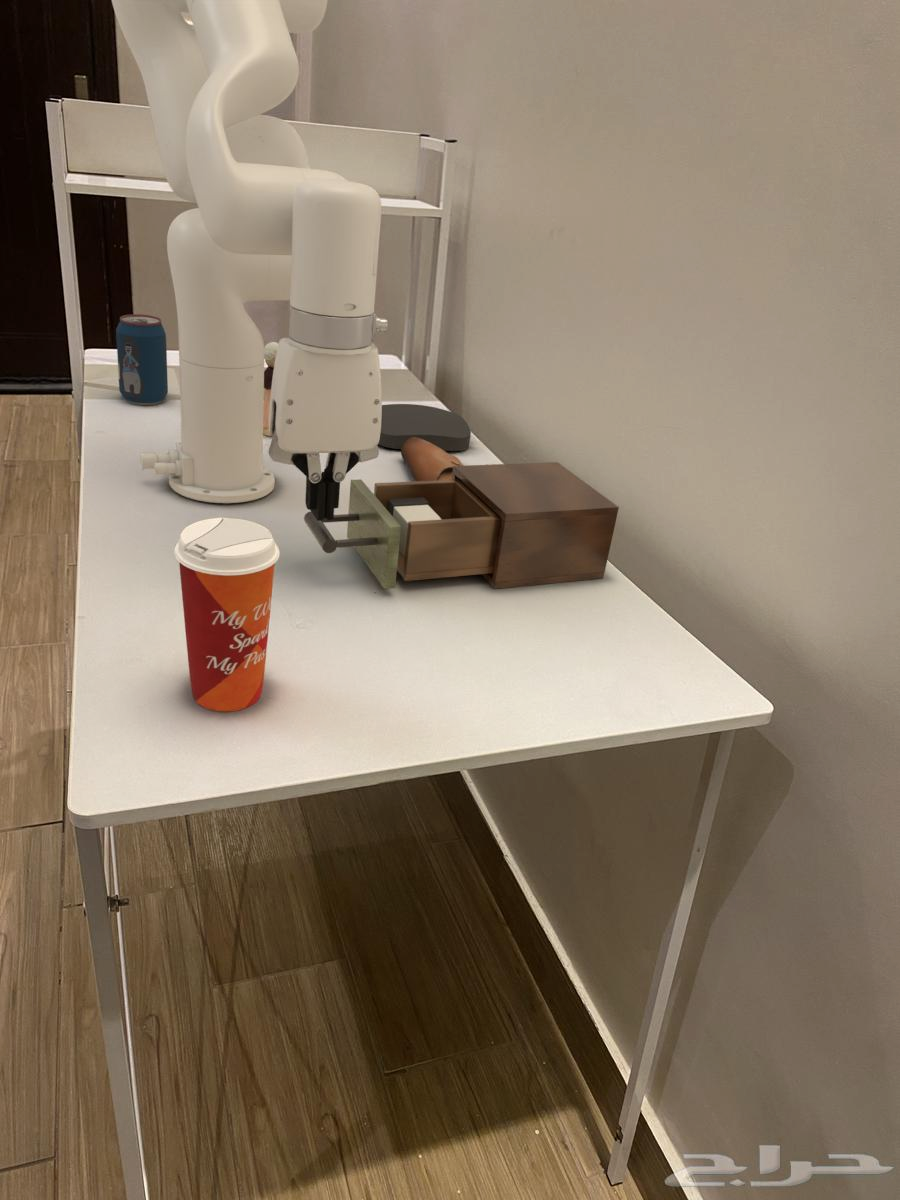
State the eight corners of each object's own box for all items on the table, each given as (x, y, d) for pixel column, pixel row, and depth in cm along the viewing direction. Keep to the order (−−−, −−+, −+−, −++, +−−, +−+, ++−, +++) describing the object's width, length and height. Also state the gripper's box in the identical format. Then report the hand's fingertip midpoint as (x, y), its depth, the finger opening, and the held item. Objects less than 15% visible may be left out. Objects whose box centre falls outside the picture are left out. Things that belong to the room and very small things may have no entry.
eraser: (447, 563, 95) (452, 527, 93) (410, 566, 94) (414, 529, 92) (419, 531, 102) (423, 496, 100) (384, 534, 100) (387, 498, 98)
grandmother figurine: (280, 439, 129) (283, 350, 123) (253, 436, 129) (255, 346, 123) (290, 423, 136) (292, 337, 130) (264, 420, 135) (266, 334, 129)
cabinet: (494, 589, 96) (506, 514, 92) (444, 535, 106) (453, 465, 102) (603, 578, 101) (619, 507, 97) (545, 528, 112) (557, 461, 108)
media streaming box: (474, 454, 133) (477, 434, 132) (376, 451, 129) (377, 431, 128) (452, 422, 145) (454, 404, 144) (361, 418, 142) (362, 400, 140)
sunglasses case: (491, 509, 114) (471, 465, 110) (441, 534, 114) (419, 491, 110) (457, 458, 129) (438, 418, 125) (413, 481, 129) (393, 442, 126)
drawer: (328, 594, 89) (332, 530, 85) (295, 540, 98) (298, 481, 95) (495, 578, 96) (504, 519, 93) (449, 530, 106) (456, 475, 102)
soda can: (166, 393, 142) (164, 314, 136) (169, 407, 136) (167, 325, 130) (119, 392, 139) (114, 312, 134) (120, 406, 134) (115, 323, 128)
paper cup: (228, 732, 69) (228, 568, 63) (157, 693, 73) (150, 534, 66) (295, 688, 76) (302, 535, 69) (227, 655, 79) (227, 506, 72)
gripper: (394, 322, 88) (379, 497, 97) (239, 317, 83) (238, 504, 91) (422, 341, 82) (403, 526, 91) (257, 337, 77) (254, 535, 85)
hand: (321, 514), depth 91 cm, fingers closed
